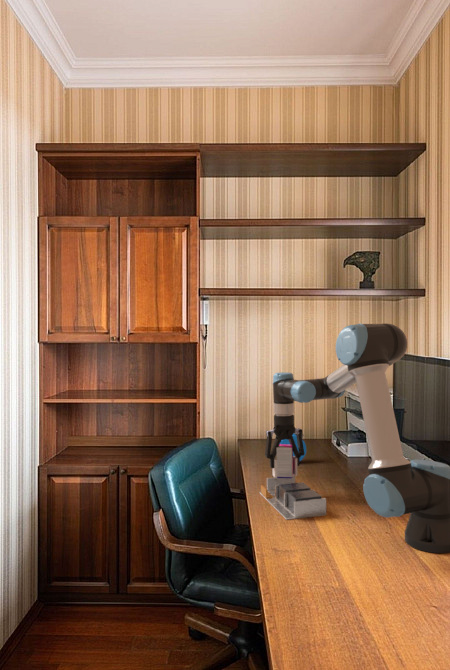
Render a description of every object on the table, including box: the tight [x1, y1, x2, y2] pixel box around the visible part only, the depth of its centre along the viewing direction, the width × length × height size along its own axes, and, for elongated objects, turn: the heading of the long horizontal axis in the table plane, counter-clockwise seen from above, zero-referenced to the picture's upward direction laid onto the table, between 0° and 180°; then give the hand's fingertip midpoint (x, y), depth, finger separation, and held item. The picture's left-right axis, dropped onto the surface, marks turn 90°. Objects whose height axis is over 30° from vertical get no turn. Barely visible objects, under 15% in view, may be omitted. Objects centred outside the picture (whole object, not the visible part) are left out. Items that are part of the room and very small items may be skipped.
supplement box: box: [276, 444, 294, 479], centre depth 197 cm, size 6×6×12 cm
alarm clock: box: [280, 432, 307, 462], centre depth 244 cm, size 13×6×15 cm, turn 92°
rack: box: [259, 475, 327, 521], centre depth 188 cm, size 29×14×6 cm, turn 14°
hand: (285, 475), depth 197 cm, fingers closed on supplement box, 7 cm apart
